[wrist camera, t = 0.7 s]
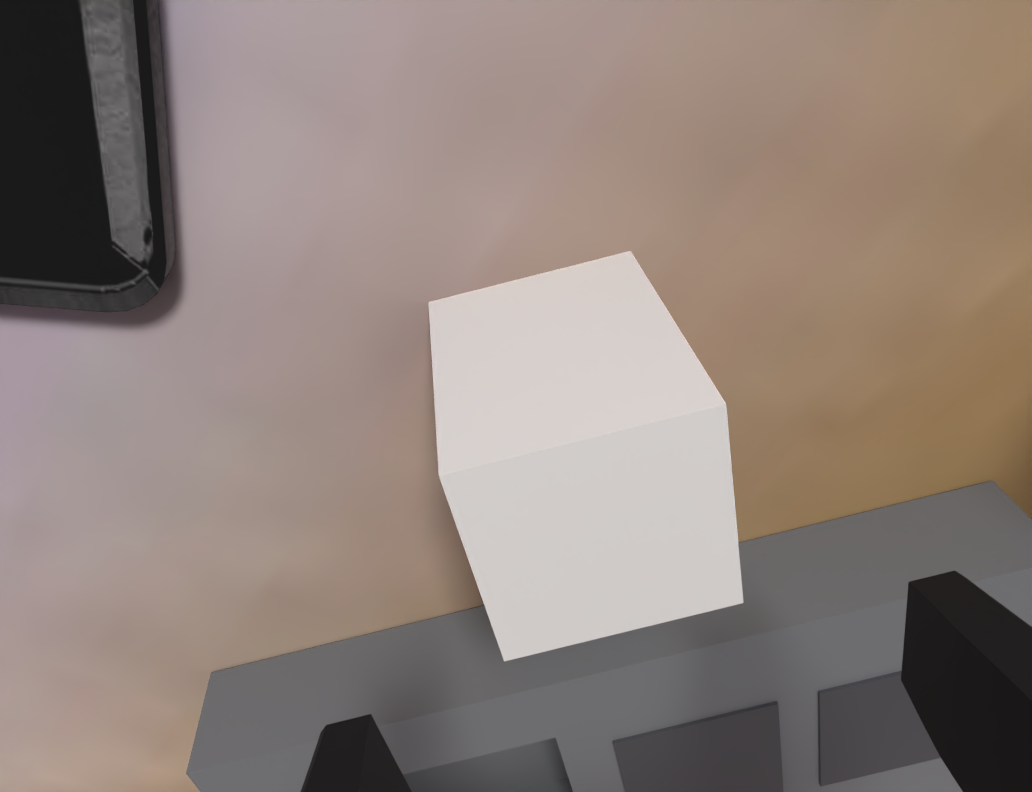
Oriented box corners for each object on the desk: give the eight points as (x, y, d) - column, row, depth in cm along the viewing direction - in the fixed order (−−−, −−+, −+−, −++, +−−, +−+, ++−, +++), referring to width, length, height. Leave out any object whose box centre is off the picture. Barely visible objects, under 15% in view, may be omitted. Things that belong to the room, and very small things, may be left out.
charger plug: (630, 250, 17) (726, 404, 12) (655, 416, 19) (743, 603, 14) (428, 301, 17) (438, 475, 12) (477, 460, 19) (504, 661, 14)
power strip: (993, 480, 22) (1072, 561, 19) (960, 702, 27) (1019, 789, 25) (210, 672, 22) (185, 777, 20) (333, 853, 28) (325, 954, 25)
